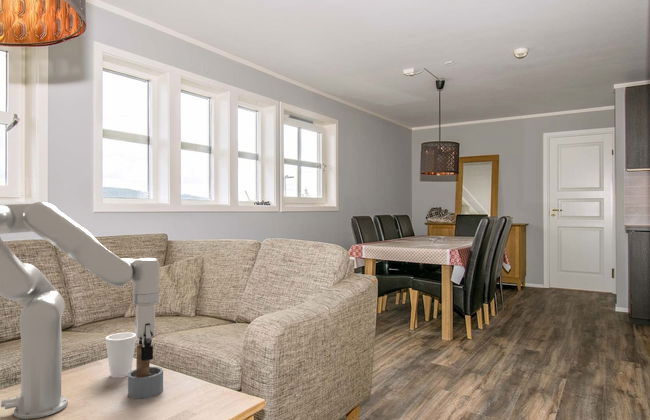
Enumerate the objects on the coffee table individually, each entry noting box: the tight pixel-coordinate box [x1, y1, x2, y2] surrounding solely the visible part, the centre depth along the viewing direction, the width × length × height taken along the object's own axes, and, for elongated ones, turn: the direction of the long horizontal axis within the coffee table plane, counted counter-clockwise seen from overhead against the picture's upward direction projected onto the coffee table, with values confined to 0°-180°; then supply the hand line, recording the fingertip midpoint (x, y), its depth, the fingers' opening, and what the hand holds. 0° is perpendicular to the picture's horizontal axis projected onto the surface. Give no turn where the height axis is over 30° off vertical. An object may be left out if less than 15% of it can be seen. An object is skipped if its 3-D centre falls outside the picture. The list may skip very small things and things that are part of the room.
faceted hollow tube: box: [127, 366, 164, 400], centre depth 133 cm, size 10×10×6 cm
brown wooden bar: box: [135, 343, 151, 377], centre depth 132 cm, size 4×2×14 cm
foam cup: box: [105, 332, 137, 379], centre depth 148 cm, size 10×9×13 cm
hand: (145, 355), depth 133 cm, fingers open, 7 cm apart
